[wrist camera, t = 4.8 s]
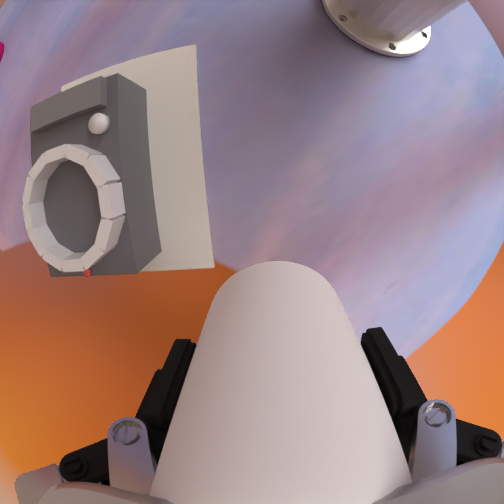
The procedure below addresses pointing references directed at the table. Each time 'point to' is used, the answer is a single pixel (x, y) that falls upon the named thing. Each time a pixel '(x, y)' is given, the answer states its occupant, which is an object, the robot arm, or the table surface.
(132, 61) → the mat
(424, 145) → the table surface
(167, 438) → the can
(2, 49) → the pepper mill
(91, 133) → the camera body
